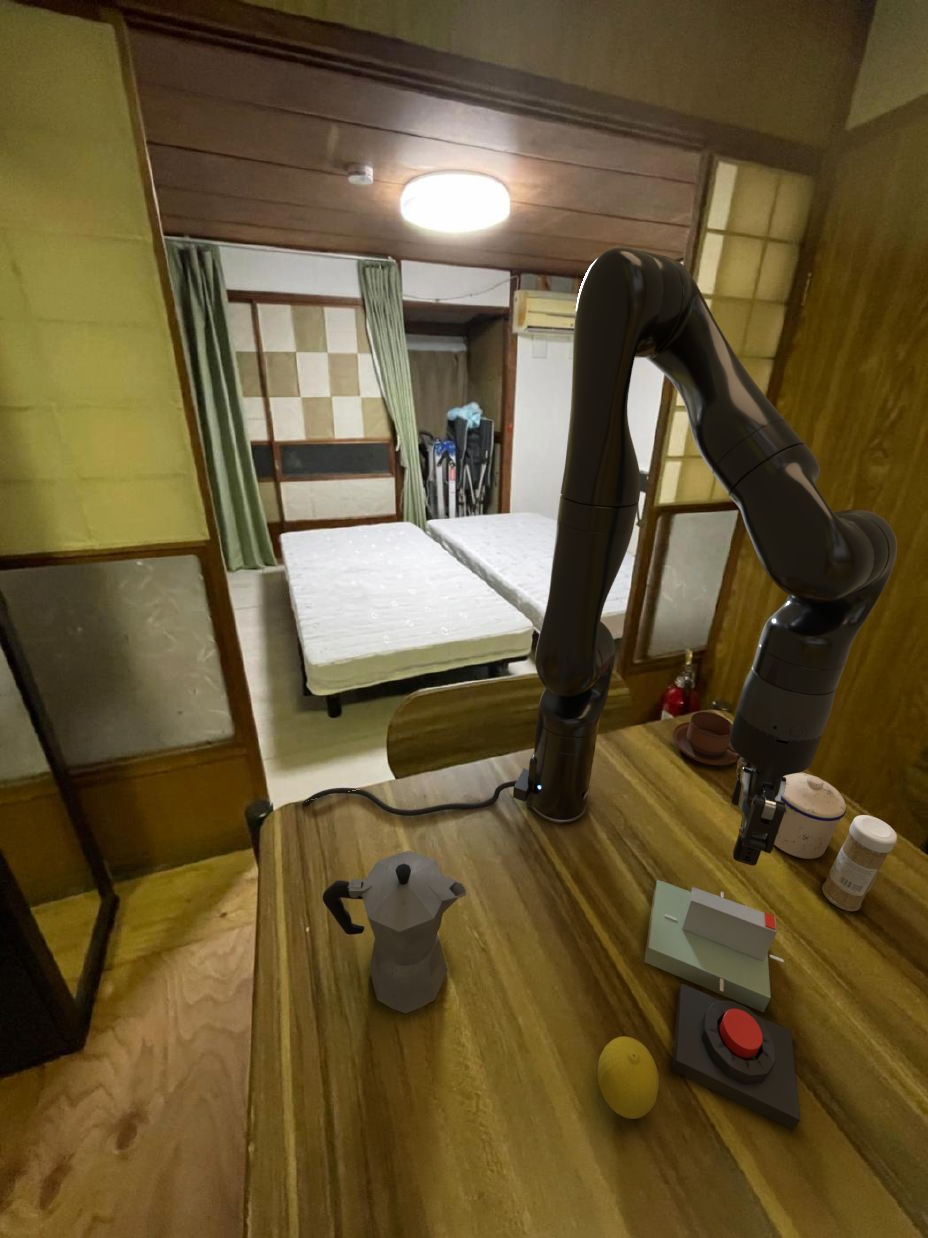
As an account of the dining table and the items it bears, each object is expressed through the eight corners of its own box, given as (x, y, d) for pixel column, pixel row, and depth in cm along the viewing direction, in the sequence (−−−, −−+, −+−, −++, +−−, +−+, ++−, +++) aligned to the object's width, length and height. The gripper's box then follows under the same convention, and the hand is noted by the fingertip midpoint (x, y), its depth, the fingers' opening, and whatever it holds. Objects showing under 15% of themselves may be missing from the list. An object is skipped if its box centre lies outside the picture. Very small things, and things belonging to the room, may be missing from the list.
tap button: (719, 1047, 52) (723, 1038, 51) (719, 1011, 55) (723, 1002, 54) (759, 1066, 50) (764, 1057, 50) (757, 1027, 53) (761, 1018, 53)
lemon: (586, 1065, 53) (595, 1023, 50) (637, 1060, 54) (650, 1018, 50) (603, 1137, 48) (615, 1096, 45) (660, 1131, 49) (676, 1090, 45)
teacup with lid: (792, 808, 85) (814, 754, 80) (841, 854, 77) (869, 796, 72) (731, 823, 82) (750, 767, 77) (776, 872, 74) (800, 813, 69)
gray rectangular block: (681, 929, 63) (691, 899, 61) (682, 915, 65) (692, 885, 62) (763, 961, 60) (777, 931, 57) (762, 946, 61) (776, 915, 59)
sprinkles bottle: (865, 901, 70) (904, 832, 64) (850, 919, 68) (889, 848, 62) (829, 876, 73) (863, 808, 67) (814, 892, 71) (847, 823, 65)
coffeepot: (463, 932, 66) (466, 832, 58) (464, 1016, 57) (466, 912, 49) (343, 931, 65) (328, 831, 57) (325, 1015, 57) (305, 911, 49)
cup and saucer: (738, 740, 100) (747, 714, 98) (739, 780, 91) (749, 752, 88) (674, 723, 105) (680, 698, 102) (668, 759, 95) (675, 733, 92)
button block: (671, 1071, 53) (679, 1051, 51) (677, 994, 59) (684, 973, 58) (793, 1131, 49) (806, 1111, 47) (785, 1041, 55) (796, 1021, 54)
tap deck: (642, 975, 61) (646, 959, 60) (654, 884, 72) (658, 869, 71) (781, 1035, 56) (789, 1019, 54) (771, 927, 67) (778, 912, 65)
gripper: (736, 671, 58) (706, 780, 65) (741, 746, 46) (704, 869, 53) (813, 685, 55) (773, 798, 62) (839, 770, 44) (787, 896, 51)
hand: (742, 831), depth 58 cm, fingers open, 8 cm apart
